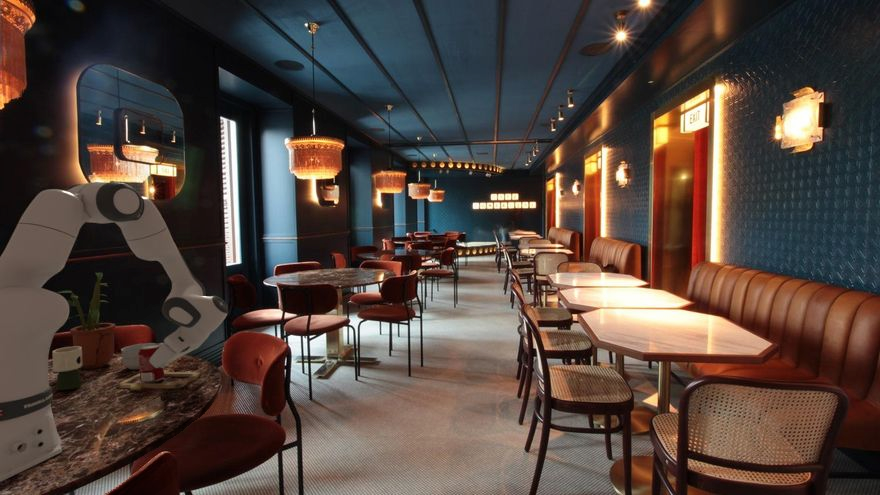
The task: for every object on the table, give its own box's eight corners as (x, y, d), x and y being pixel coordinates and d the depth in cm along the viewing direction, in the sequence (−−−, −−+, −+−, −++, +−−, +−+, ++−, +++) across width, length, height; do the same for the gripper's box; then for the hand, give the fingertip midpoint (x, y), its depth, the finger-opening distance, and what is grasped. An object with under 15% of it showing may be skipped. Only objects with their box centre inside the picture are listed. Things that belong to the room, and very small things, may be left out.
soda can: (152, 385, 141) (150, 349, 140) (135, 384, 142) (132, 348, 141) (169, 377, 147) (166, 343, 147) (152, 376, 149) (149, 342, 148)
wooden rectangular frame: (176, 390, 137) (176, 386, 137) (112, 389, 137) (111, 386, 137) (203, 373, 152) (203, 370, 152) (145, 373, 152) (145, 370, 152)
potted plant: (112, 358, 169) (108, 270, 167) (123, 367, 159) (118, 273, 157) (53, 370, 156) (48, 274, 154) (61, 380, 146) (55, 278, 144)
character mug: (83, 391, 136) (81, 351, 135) (53, 397, 132) (51, 355, 131) (83, 381, 145) (81, 343, 144) (55, 386, 140) (53, 347, 139)
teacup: (120, 374, 152) (119, 351, 151) (124, 365, 161) (123, 344, 160) (166, 367, 159) (165, 346, 158) (167, 359, 168) (167, 339, 168)
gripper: (201, 322, 154) (176, 349, 155) (162, 338, 133) (133, 369, 134) (214, 334, 154) (188, 361, 155) (177, 352, 133) (148, 383, 134)
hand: (162, 365), depth 144 cm, fingers closed
